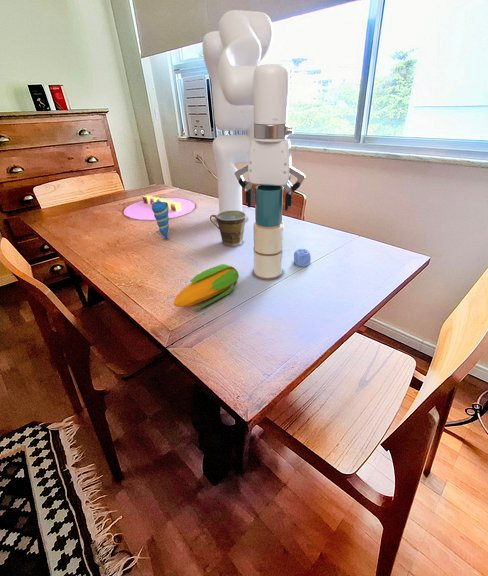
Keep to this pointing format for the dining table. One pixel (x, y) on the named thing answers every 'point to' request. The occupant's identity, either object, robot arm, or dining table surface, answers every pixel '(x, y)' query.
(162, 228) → the ornament
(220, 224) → the ceramic cup
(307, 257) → the decorative dice
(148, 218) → the platter
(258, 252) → the cup stack
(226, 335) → the dining table surface
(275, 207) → the teal cup
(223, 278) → the corn
